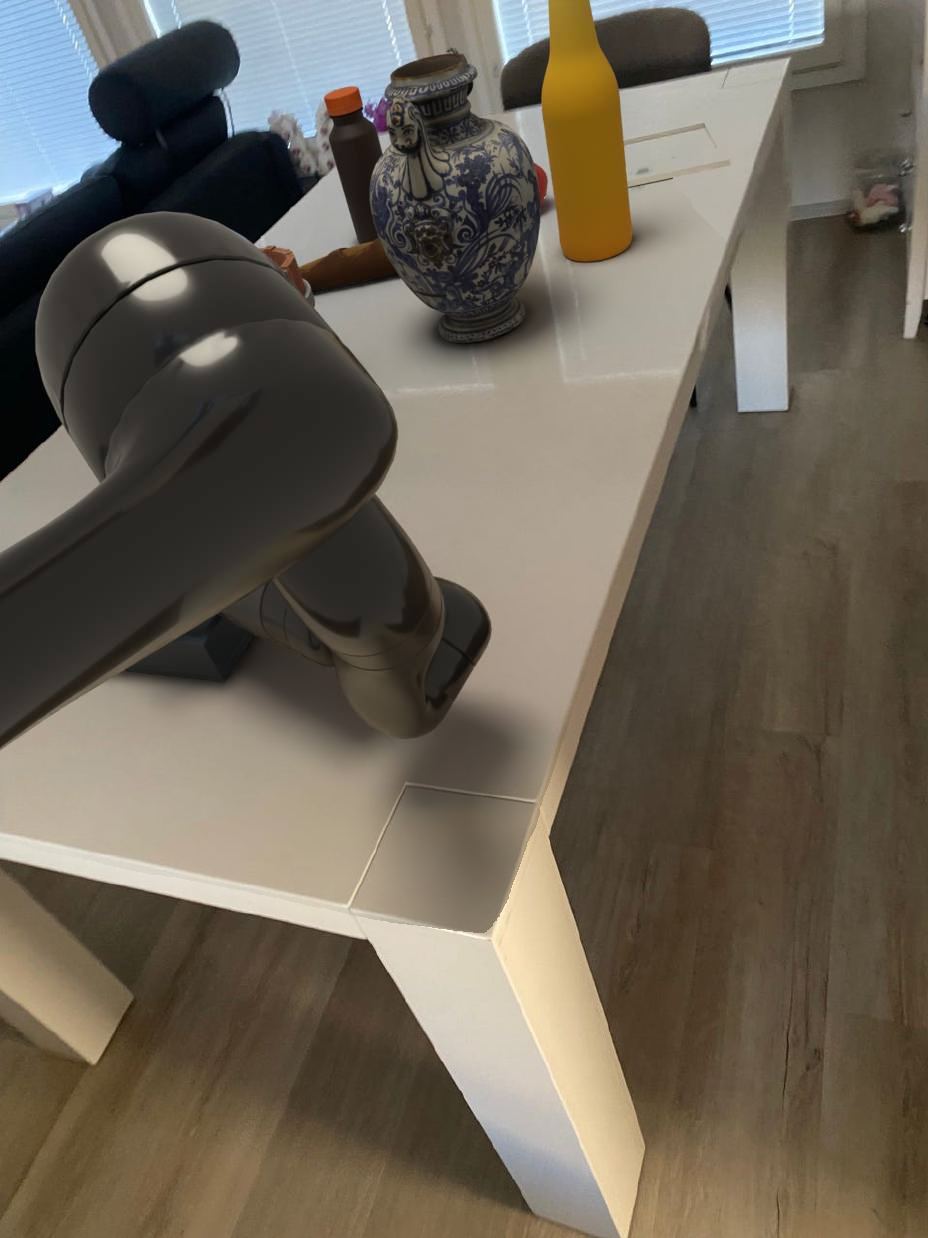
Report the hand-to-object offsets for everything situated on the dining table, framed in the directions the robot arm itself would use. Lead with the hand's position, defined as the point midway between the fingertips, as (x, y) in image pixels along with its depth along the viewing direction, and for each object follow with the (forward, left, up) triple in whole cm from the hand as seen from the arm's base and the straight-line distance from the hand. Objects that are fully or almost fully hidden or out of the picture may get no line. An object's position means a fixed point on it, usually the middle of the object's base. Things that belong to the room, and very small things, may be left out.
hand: (139, 522), depth 81 cm
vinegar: (+78, +12, -9) cm, 79 cm away
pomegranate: (+83, -8, -9) cm, 84 cm away
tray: (-1, -2, -9) cm, 9 cm away
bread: (+65, +6, -9) cm, 66 cm away
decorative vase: (+50, -13, -9) cm, 52 cm away
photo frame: (+99, -27, -9) cm, 103 cm away
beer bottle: (+69, -23, -9) cm, 73 cm away
